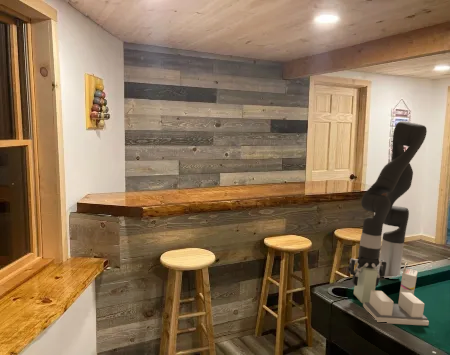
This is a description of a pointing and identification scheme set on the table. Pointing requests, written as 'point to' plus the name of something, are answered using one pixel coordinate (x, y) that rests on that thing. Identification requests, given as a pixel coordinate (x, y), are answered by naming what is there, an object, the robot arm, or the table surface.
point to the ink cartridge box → (408, 280)
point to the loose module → (365, 284)
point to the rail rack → (396, 309)
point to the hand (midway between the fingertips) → (364, 285)
